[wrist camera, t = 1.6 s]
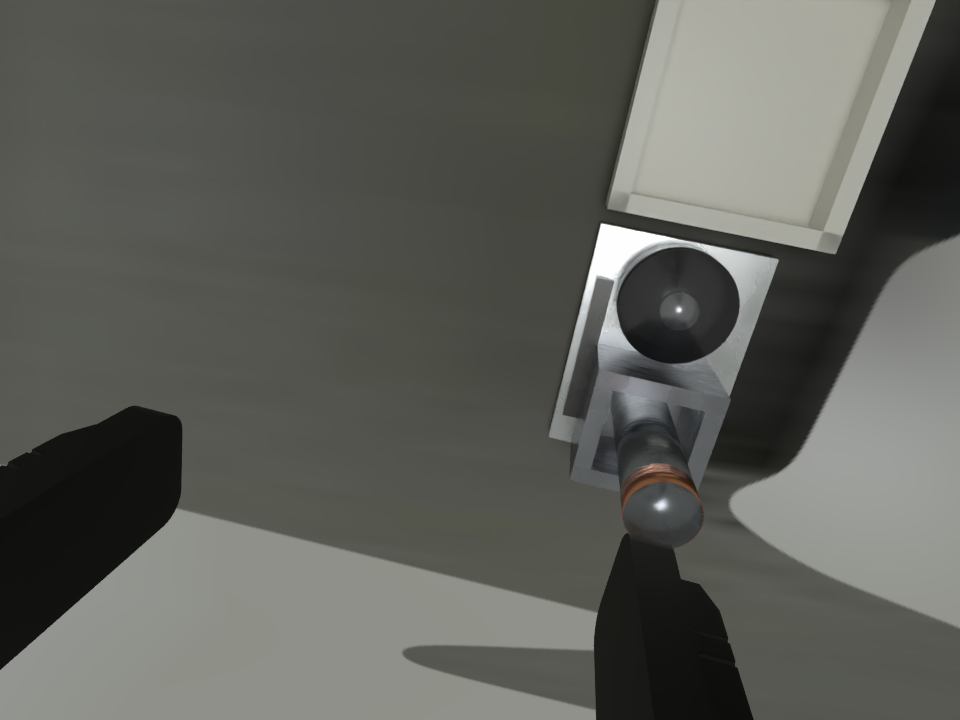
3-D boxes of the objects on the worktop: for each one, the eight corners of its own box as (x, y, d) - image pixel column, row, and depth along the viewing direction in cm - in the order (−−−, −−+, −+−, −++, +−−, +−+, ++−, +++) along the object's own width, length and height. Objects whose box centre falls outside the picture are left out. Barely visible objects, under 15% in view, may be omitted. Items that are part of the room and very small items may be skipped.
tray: (669, -55, 30) (678, -76, 27) (913, -16, 29) (949, -34, 26) (605, 204, 35) (607, 208, 32) (814, 245, 34) (835, 254, 31)
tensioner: (601, 221, 35) (604, 234, 29) (772, 256, 34) (809, 276, 29) (549, 429, 40) (544, 473, 34) (698, 464, 39) (717, 516, 34)
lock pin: (618, 375, 37) (634, 473, 26) (674, 388, 36) (714, 492, 25) (604, 424, 38) (614, 538, 27) (658, 437, 38) (690, 557, 26)
